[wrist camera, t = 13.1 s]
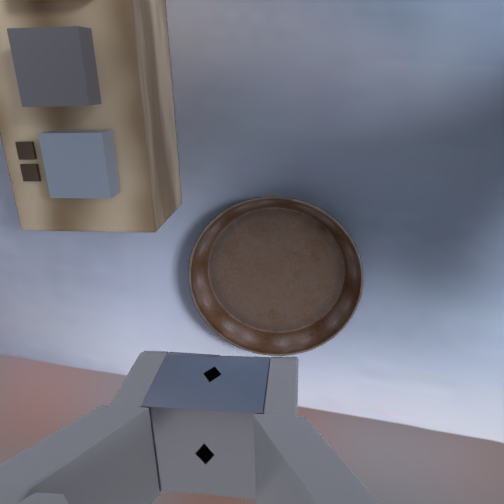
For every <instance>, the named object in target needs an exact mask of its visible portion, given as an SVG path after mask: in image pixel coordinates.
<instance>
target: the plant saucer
mask: <svg viewBox="0 0 504 504" xmlns="http://www.w3.org/2000/svg"><path fill="white" fill-rule="evenodd" d="M188 277H189V286H190V291H191V295H192V298H193V301H194V304H195V306H196V308H197V310H198V312H199V313H200V315H201V317H202V318H203V319H204V321H205V322H206V323H207V324H208V325H209V326H210V327H211V328H212V330H213V331H215V332H216V333H217V334H218V335H219V336H221V337H222V338H223V339H225V340H226V341H228V342H229V343H231V344H233V345H235V346H237V347H239V348H242V349H244V350H247V351H250V352H253V353H257V354H263V355H272V356H285V355H293V354H299V353H303V352H307V351H310V350H312V349H315V348H317V347H319V346H321V345H323V344H325V343H326V342H328V341H329V340H331V339H332V338H334V337H335V336H336V335H337V334H338V333H339V332H340V331H341V330H342V329H343V328H344V327H345V326H346V325H347V324H348V322H349V321H350V319H351V318H352V316H353V315H354V313H355V311H356V309H357V307H358V304H359V302H360V298H361V295H362V289H363V268H362V262H361V258H360V255H359V252H358V250H357V247H356V245H355V243H354V241H353V240H352V238H351V237H350V235H349V234H348V232H347V231H346V230H345V229H344V227H343V226H342V225H341V224H340V223H339V222H338V221H337V220H335V219H334V218H333V217H332V216H330V215H329V214H328V213H326V212H325V211H323V210H322V209H320V208H318V207H316V206H314V205H312V204H310V203H307V202H304V201H301V200H297V199H293V198H288V197H273V196H272V197H260V198H254V199H250V200H246V201H243V202H241V203H238V204H236V205H233V206H231V207H229V208H228V209H226V210H224V211H223V212H221V213H220V214H219V215H217V216H216V217H215V218H214V219H213V220H212V221H211V222H210V223H209V224H208V225H207V226H206V227H205V229H204V230H203V231H202V233H201V234H200V236H199V237H198V239H197V241H196V243H195V245H194V247H193V250H192V253H191V256H190V261H189V271H188Z"/></svg>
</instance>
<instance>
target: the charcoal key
mask: <svg viewBox="0 0 504 504" xmlns="http://www.w3.org/2000/svg"><path fill="white" fill-rule="evenodd" d="M7 33H8V38H9V43H10V48H11V53H12V58H13V63H14V68H15V73H16V78H17V83H18V88H19V93H20V98H21V103H22V107H52V106H92V105H98V104H102V103H101V96H100V89H99V81H98V74H97V67H96V59H95V52H94V45H93V38H92V30H91V28H86V27H81V26H63V27H34V28H7Z"/></svg>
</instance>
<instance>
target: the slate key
mask: <svg viewBox="0 0 504 504" xmlns="http://www.w3.org/2000/svg"><path fill="white" fill-rule="evenodd" d="M38 135H39V141H40V146H41V151H42V156H43V162H44V167H45V172H46V177H47V183H48V188H49V193H50V198H104V199H111V198H113V197H114V196H116V195H117V194H119V193H120V192H121V191H120V183H119V176H118V168H117V160H116V153H115V145H114V138H113V130H112V129H110V130H50V131H46V132H41V133H38Z"/></svg>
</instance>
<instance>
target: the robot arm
mask: <svg viewBox="0 0 504 504" xmlns="http://www.w3.org/2000/svg"><path fill="white" fill-rule="evenodd" d="M297 405H298V358H297V357H271V358H270V357H243V356H220V355H210V354H195V353H180V352H170V353H169V352H165V351H144V352H142V353H140V355H139V356H138V358H137V360H136V361H135V363H134V365H133V366H132V368H131V370H130V372H129V373H128V375H127V377H126V379H125V380H124V382H123V383H122V385H121V387H120V389H119V390H118V392H117V394H116V395H115V397H114V399H113V401H112V402H111V404H110V405H101V406H99V407H98V408H96V409H94V410H93V411H91V412H89V413H87V414H86V415H84V416H82V417H81V418H79V419H77V420H75V421H74V422H72V423H70V424H69V425H67V426H66V427H64V428H62V429H60V430H59V431H57V432H55V433H53V434H52V435H50V436H48V437H47V438H45V439H43V440H42V441H40V442H38V443H36V444H35V445H33V446H31V447H30V448H28V449H26V450H25V451H23V452H21V453H19V454H18V455H16V456H14V457H13V458H11V459H9V460H8V461H6V462H4V463H3V464H1V465H0V504H152V503H153V502H154V501H155V500H156V499H157V498H158V496H159V495H160V492H172V493H192V494H210V495H219V496H228V497H237V498H247V499H256V503H257V504H380V503H379V502H378V501H377V500H376V499H375V498H374V497H373V495H372V494H371V493H370V492H369V490H368V489H367V488H366V487H365V486H364V485H363V484H362V482H361V481H360V480H359V479H358V478H357V477H356V475H355V474H354V473H353V472H352V471H351V470H350V468H349V467H348V466H347V465H346V464H345V463H344V461H343V460H342V459H341V458H340V457H339V456H338V455H337V453H336V452H335V451H334V450H333V449H332V448H331V446H330V445H329V444H328V443H327V442H326V441H325V439H324V438H323V437H322V436H321V435H320V434H319V433H318V431H317V430H316V429H315V428H314V427H313V426H312V424H311V423H310V422H309V421H308V420H307V419H306V418H305V417H298V416H297Z"/></svg>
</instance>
